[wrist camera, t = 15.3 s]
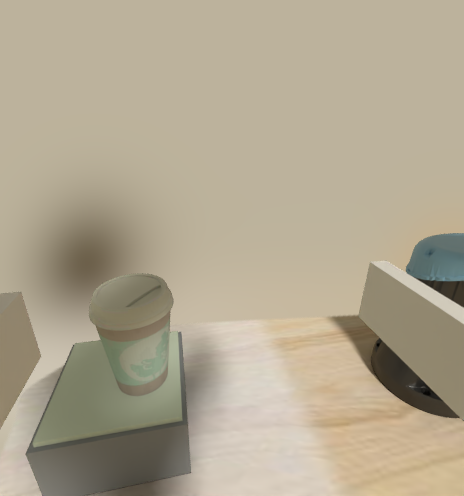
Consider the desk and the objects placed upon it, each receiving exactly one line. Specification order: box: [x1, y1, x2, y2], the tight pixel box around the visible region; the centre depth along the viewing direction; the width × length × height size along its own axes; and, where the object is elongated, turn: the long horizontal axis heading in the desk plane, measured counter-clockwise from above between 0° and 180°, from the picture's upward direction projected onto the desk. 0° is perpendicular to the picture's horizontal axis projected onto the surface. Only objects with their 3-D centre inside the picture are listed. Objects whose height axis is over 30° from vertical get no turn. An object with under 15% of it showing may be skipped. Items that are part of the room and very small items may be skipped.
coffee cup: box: [89, 274, 173, 396], centre depth 32 cm, size 9×8×12 cm
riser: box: [26, 331, 191, 496], centre depth 37 cm, size 15×15×9 cm
